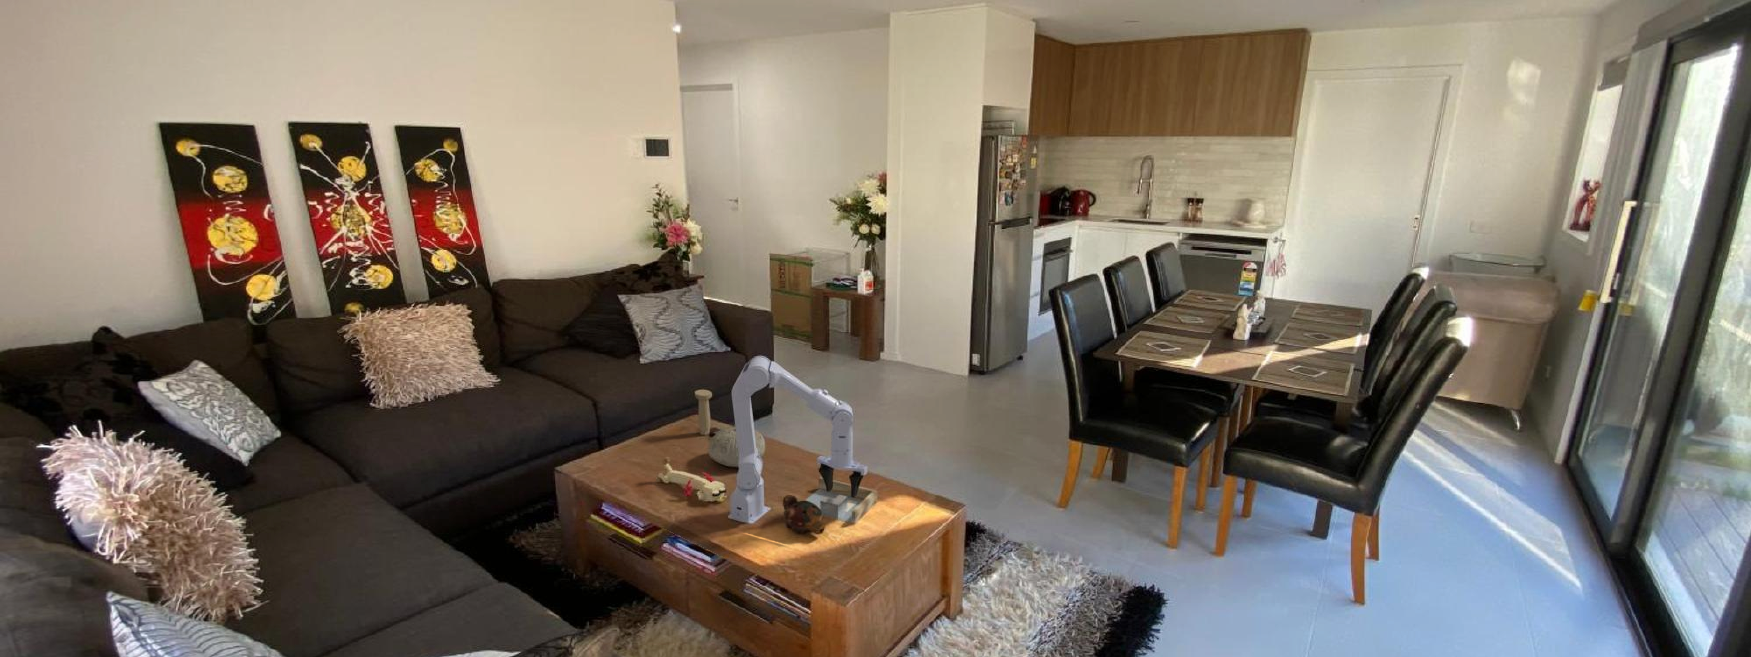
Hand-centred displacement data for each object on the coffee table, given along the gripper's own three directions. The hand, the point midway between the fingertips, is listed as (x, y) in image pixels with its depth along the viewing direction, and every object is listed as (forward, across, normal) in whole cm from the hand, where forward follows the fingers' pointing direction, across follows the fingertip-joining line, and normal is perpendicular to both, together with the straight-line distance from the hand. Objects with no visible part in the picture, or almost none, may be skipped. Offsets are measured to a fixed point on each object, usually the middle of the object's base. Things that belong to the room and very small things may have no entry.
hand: (841, 493), depth 208 cm
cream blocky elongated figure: (+6, +44, +9) cm, 45 cm away
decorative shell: (+6, +45, -14) cm, 47 cm away
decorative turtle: (+6, +5, +13) cm, 15 cm away
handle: (+6, +67, -26) cm, 72 cm away
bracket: (+5, +2, +2) cm, 6 cm away
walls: (+6, +3, -2) cm, 7 cm away
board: (+6, +3, -2) cm, 7 cm away
